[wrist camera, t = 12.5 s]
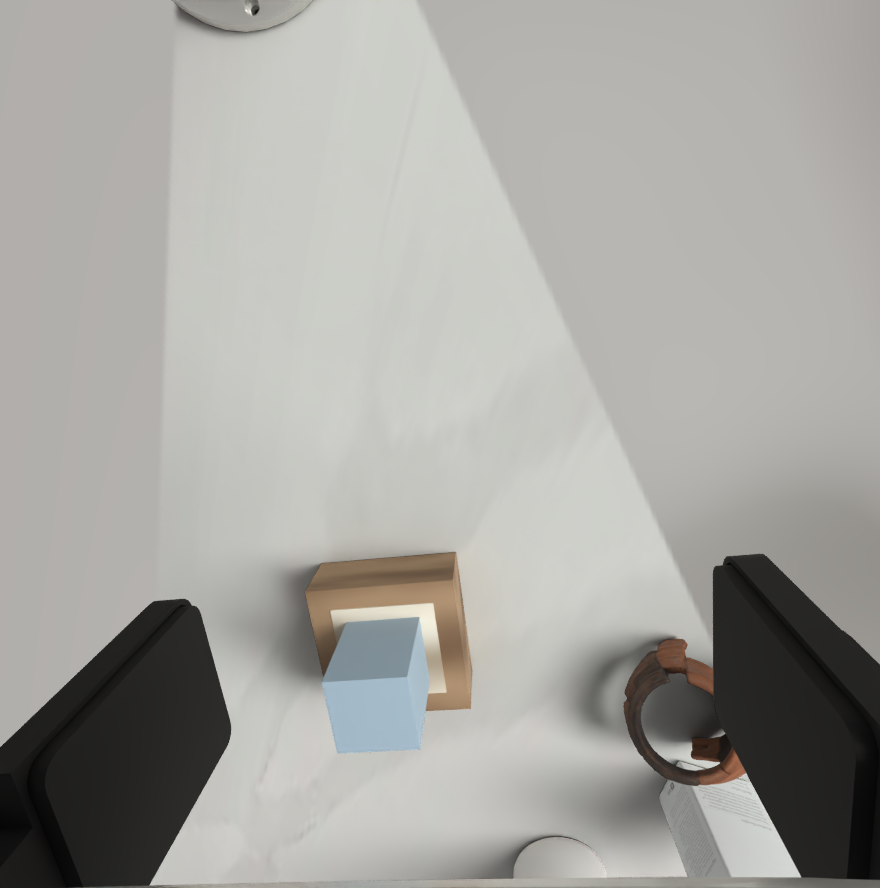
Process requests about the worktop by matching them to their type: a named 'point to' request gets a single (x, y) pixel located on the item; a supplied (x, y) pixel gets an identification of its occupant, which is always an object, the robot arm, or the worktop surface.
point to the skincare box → (724, 830)
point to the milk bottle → (558, 860)
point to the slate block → (378, 686)
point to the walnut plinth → (399, 613)
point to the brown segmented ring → (710, 749)
